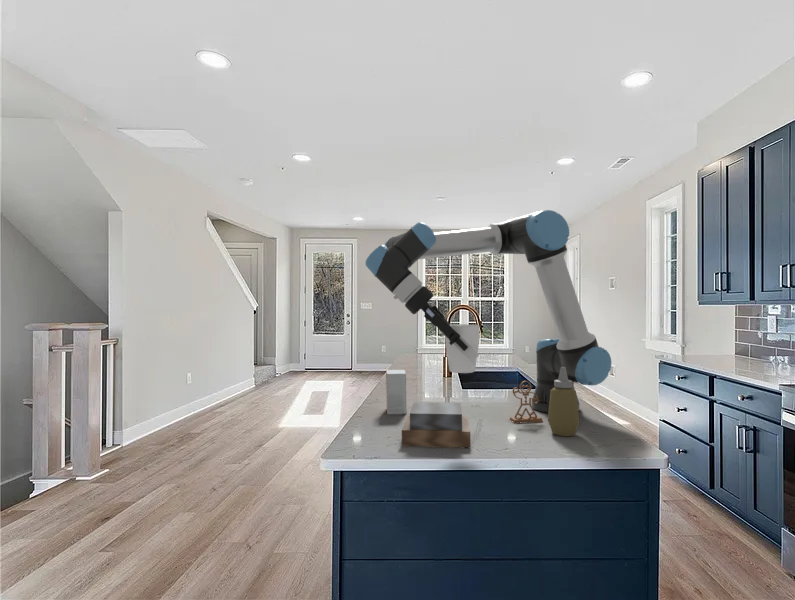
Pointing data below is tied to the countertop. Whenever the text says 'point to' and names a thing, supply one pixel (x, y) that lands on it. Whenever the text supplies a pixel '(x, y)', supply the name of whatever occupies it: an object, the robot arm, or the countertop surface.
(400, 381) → the small box
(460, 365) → the cup
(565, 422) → the squeeze bottle
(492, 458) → the countertop surface
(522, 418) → the gingerbread man figurine
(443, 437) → the stepped display pedestal
